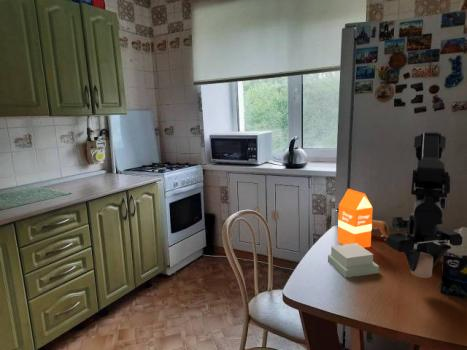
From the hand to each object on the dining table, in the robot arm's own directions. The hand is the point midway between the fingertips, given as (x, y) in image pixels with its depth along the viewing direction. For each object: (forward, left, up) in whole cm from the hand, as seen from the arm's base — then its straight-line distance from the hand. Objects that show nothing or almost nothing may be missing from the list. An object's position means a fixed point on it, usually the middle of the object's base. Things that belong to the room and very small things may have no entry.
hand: (421, 269), depth 90 cm
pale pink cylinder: (0, 0, -1) cm, 1 cm away
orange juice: (0, -33, -6) cm, 34 cm away
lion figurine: (-11, -38, -6) cm, 40 cm away
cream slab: (+10, -18, -4) cm, 21 cm away
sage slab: (+10, -17, -7) cm, 21 cm away
